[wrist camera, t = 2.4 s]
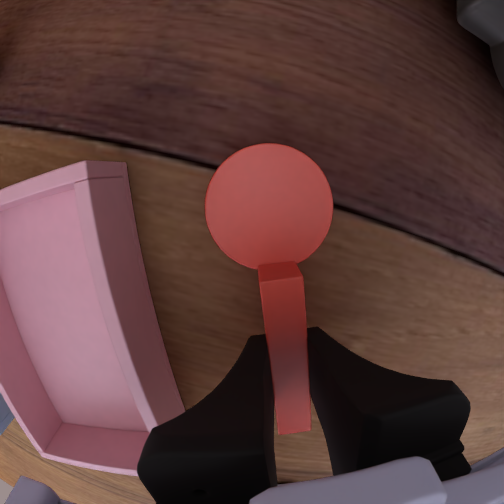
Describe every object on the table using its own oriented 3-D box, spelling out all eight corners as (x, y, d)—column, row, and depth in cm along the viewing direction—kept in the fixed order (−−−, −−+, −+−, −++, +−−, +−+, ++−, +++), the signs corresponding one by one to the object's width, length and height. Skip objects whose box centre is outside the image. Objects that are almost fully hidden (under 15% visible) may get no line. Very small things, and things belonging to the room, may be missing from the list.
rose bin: (193, 432, 15) (184, 480, 12) (63, 422, 15) (41, 457, 12) (126, 161, 12) (85, 159, 8) (-14, 205, 12) (-59, 216, 8)
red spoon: (333, 383, 14) (348, 424, 11) (241, 396, 14) (240, 439, 11) (318, 140, 11) (340, 130, 9) (201, 154, 12) (185, 148, 9)
